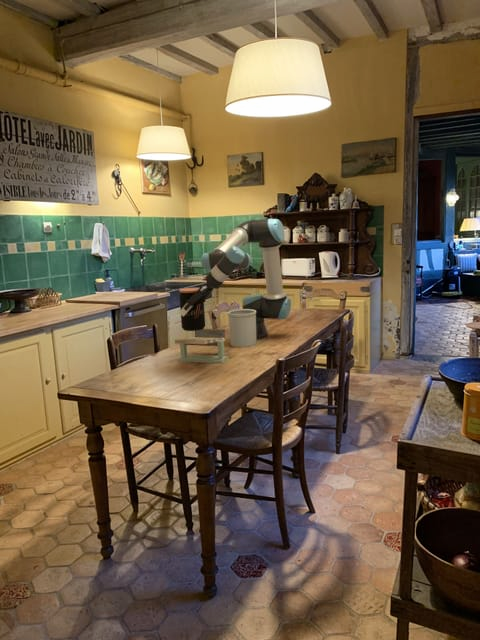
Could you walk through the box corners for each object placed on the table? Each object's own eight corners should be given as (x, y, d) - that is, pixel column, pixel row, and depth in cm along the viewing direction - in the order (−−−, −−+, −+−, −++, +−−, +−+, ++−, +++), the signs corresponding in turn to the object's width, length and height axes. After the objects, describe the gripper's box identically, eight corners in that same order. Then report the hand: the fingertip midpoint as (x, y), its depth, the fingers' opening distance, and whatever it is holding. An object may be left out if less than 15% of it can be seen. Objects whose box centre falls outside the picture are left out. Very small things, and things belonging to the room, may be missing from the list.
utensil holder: (255, 347, 251) (253, 313, 248) (226, 347, 254) (224, 314, 251) (259, 340, 266) (258, 308, 262) (232, 340, 269) (230, 309, 265)
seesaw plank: (196, 343, 247) (196, 328, 247) (227, 344, 242) (227, 329, 242) (172, 347, 221) (173, 331, 221) (206, 348, 216) (206, 331, 216)
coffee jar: (183, 332, 216) (180, 291, 213) (180, 327, 226) (177, 288, 223) (207, 329, 219) (205, 289, 216) (203, 325, 229) (200, 286, 226)
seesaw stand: (184, 356, 241) (183, 337, 239) (227, 358, 234) (226, 338, 232) (177, 361, 233) (176, 341, 231) (221, 363, 226) (220, 342, 224)
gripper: (213, 286, 203) (181, 323, 211) (231, 279, 225) (202, 313, 233) (200, 273, 204) (169, 310, 212) (220, 268, 225) (191, 302, 233)
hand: (186, 312), depth 222 cm, fingers closed on coffee jar, 11 cm apart
